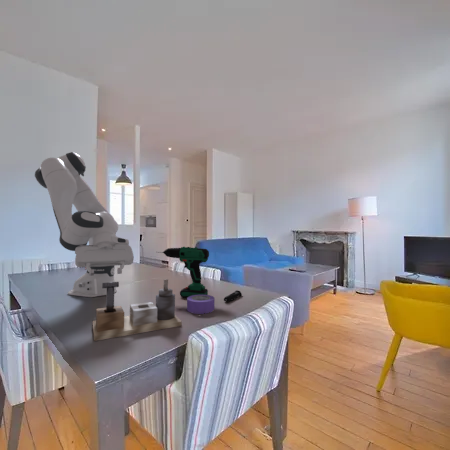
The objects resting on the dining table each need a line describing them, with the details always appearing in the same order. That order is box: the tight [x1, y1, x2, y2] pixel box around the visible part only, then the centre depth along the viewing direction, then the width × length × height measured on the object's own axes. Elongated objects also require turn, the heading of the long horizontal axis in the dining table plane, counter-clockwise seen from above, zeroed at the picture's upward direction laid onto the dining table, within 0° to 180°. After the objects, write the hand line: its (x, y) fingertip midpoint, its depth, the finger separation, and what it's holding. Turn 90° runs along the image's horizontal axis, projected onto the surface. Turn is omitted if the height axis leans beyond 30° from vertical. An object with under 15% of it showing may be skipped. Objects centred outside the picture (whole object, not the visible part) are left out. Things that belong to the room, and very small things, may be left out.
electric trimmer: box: [223, 289, 243, 302], centre depth 129 cm, size 4×16×3 cm, turn 152°
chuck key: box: [102, 281, 120, 313], centre depth 89 cm, size 5×3×13 cm, turn 118°
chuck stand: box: [92, 278, 183, 342], centre depth 93 cm, size 28×14×16 cm, turn 119°
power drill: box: [157, 246, 210, 299], centre depth 131 cm, size 6×29×25 cm, turn 79°
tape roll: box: [186, 294, 216, 315], centre depth 112 cm, size 12×12×5 cm
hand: (105, 273), depth 96 cm, fingers open, 8 cm apart
